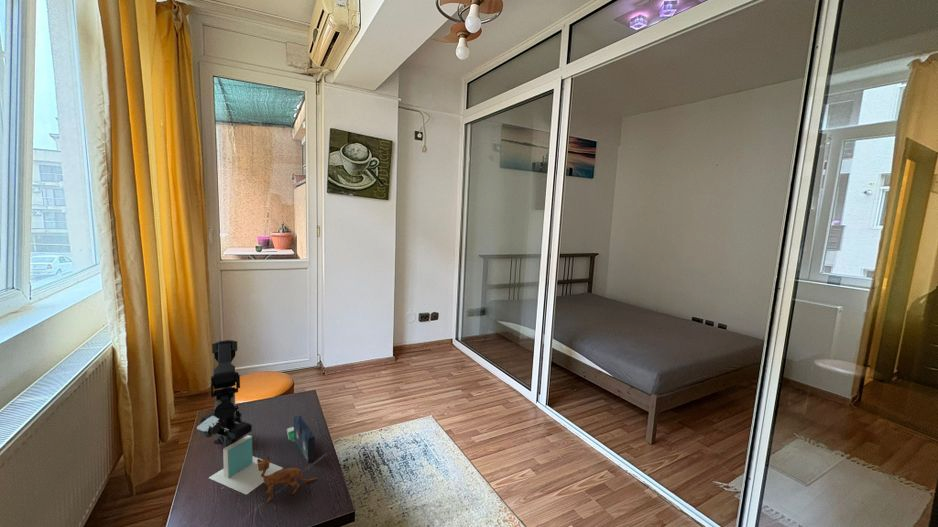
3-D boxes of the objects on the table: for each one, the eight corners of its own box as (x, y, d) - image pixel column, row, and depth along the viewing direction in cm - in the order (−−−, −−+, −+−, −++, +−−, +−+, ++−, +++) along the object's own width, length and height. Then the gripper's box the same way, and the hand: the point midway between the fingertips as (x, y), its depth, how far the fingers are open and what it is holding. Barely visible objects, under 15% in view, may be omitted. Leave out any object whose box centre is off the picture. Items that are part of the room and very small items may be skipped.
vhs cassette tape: (314, 462, 133) (314, 436, 132) (306, 465, 131) (306, 439, 130) (301, 437, 147) (301, 414, 146) (293, 440, 145) (293, 416, 144)
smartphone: (304, 424, 156) (311, 442, 144) (304, 425, 156) (310, 444, 144) (286, 428, 152) (290, 447, 140) (286, 430, 152) (290, 449, 140)
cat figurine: (313, 475, 127) (315, 438, 126) (319, 487, 122) (321, 448, 121) (254, 495, 116) (256, 454, 115) (258, 508, 111) (259, 466, 109)
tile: (223, 476, 123) (223, 449, 121) (248, 460, 131) (248, 434, 130) (228, 478, 122) (227, 450, 121) (253, 462, 130) (252, 436, 129)
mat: (208, 479, 122) (208, 477, 122) (247, 455, 135) (247, 453, 135) (246, 496, 115) (246, 494, 115) (283, 469, 128) (283, 467, 128)
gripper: (182, 410, 122) (184, 453, 124) (220, 423, 115) (221, 469, 117) (216, 396, 132) (217, 436, 134) (252, 407, 125) (253, 449, 127)
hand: (226, 447), depth 128 cm, fingers closed
